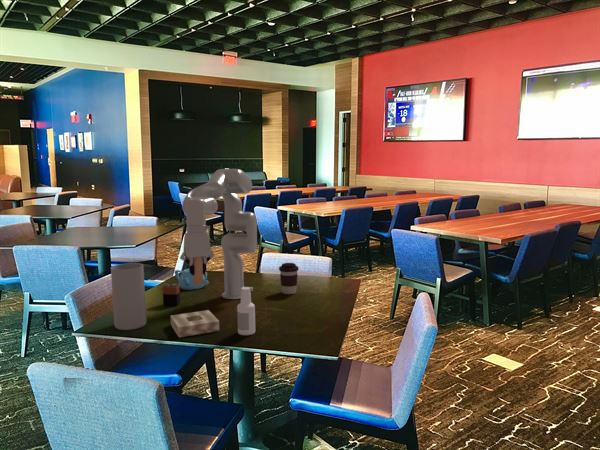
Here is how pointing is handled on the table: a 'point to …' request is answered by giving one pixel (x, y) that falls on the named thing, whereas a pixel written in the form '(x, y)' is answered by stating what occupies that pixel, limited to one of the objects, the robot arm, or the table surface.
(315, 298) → the table surface
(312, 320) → the table surface
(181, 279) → the teapot
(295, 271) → the coffee cup
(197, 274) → the peg
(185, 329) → the socket block
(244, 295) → the spray bottle
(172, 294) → the battery
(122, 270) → the cylinder vase
